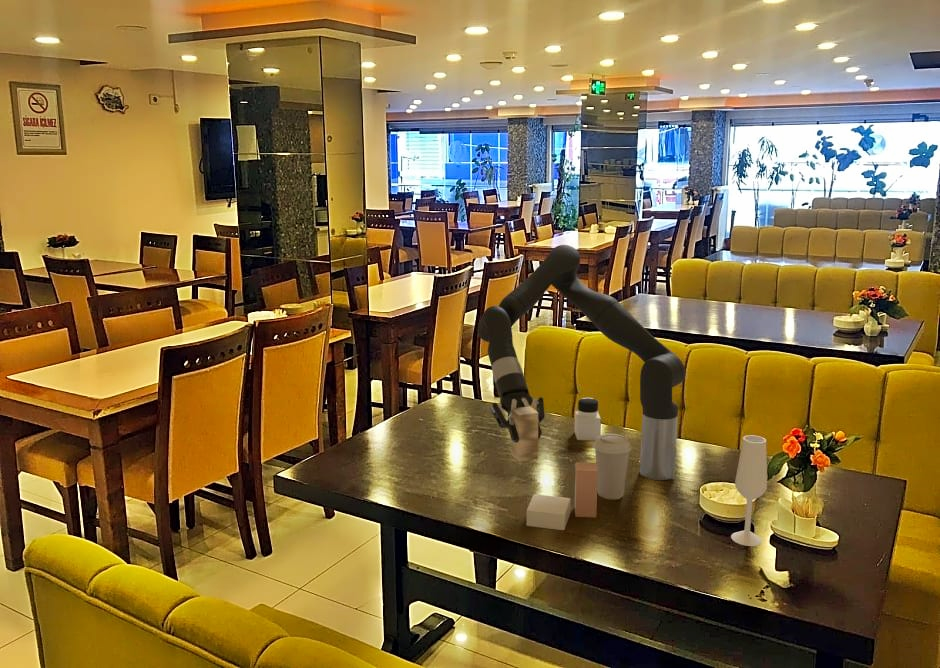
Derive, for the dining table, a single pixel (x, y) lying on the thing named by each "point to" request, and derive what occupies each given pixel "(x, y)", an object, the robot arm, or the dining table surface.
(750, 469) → the champagne flute
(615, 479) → the coffee cup
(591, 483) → the terracotta pillar
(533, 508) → the plinth
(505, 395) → the robot arm
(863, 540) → the dining table surface
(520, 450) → the maple pillar
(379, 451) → the dining table surface
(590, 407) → the medicine bottle
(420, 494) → the dining table surface
